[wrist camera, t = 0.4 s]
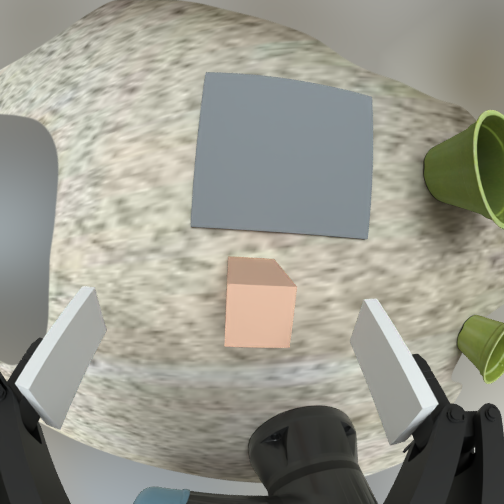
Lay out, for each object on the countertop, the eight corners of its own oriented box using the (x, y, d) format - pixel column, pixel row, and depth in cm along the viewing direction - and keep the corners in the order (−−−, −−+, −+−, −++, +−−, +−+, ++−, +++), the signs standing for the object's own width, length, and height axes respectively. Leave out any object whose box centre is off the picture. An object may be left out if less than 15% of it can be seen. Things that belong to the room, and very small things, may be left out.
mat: (365, 238, 28) (367, 239, 28) (191, 226, 27) (190, 226, 26) (369, 98, 26) (371, 96, 25) (206, 74, 24) (205, 72, 24)
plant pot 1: (421, 110, 27) (482, 86, 15) (475, 164, 28) (534, 159, 17) (393, 189, 28) (463, 185, 17) (453, 237, 29) (517, 250, 18)
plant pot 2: (485, 338, 33) (517, 358, 25) (449, 369, 33) (481, 395, 25) (485, 294, 32) (523, 310, 23) (447, 325, 31) (486, 349, 23)
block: (270, 302, 29) (289, 347, 19) (226, 300, 28) (224, 346, 18) (273, 259, 28) (297, 286, 18) (228, 256, 28) (227, 283, 18)
